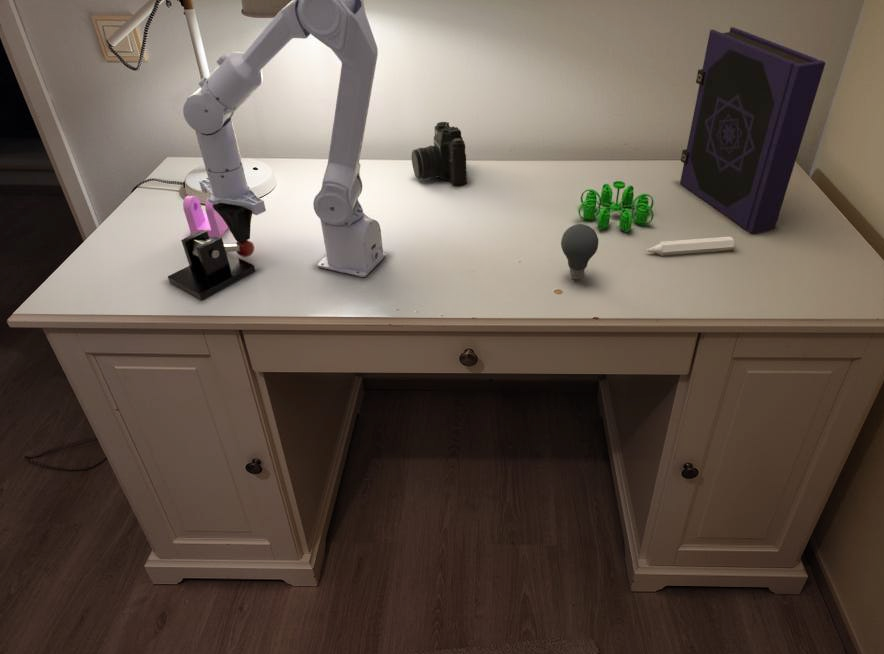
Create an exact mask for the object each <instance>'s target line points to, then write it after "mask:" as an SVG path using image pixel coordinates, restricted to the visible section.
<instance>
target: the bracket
mask: <svg viewBox="0 0 884 654" xmlns="http://www.w3.org/2000/svg"><path fill="white" fill-rule="evenodd" d="M204 207H205V209H204V210H205V211H203V208H202V204H201V200H200V199H199V197H197V195H196V196H195V195H186V196H185V197H184V199H183V203H182V208H183V213H184V215H185V218H186V222H187V225H188V229H189V231H190V236H191V235H193V234H195V233H197V232H200V231H202V230H206V231H207V232H208V235H209V238H217V237H220V238H222V236H223V235H224V233H225V232H227V230H228V229H229V228H228V226H227V224H226V223H225V221H224V220H223V218H222V217H221V216H220V215H219V214H218V213H217V212H216V211H215V210H214V209H213V204H212V203H210V202H209V201H208V197H207V198H206V200H205V205H204Z"/></svg>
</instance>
